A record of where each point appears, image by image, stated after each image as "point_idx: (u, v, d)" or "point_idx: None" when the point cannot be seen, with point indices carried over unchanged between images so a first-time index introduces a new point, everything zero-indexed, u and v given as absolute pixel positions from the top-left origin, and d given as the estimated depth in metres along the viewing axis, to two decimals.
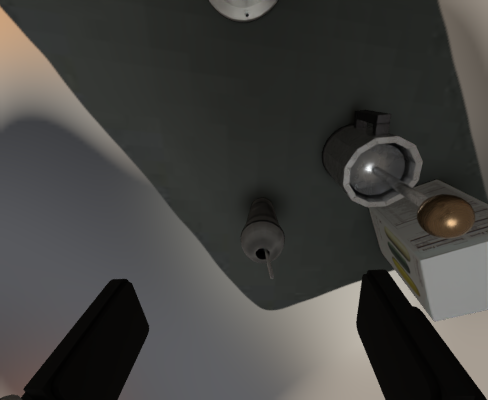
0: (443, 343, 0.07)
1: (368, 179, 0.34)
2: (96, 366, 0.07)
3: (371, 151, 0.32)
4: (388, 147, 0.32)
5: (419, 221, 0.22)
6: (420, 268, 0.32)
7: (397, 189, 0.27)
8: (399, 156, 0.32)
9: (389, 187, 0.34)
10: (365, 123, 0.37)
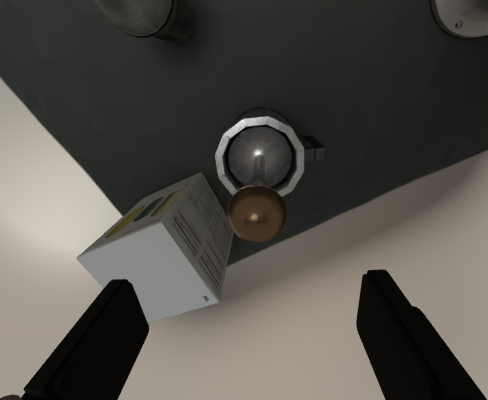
0: (443, 343, 0.07)
1: (248, 152, 0.28)
2: (96, 366, 0.07)
3: (283, 149, 0.27)
4: (286, 167, 0.28)
5: (246, 187, 0.15)
6: (148, 225, 0.26)
7: (257, 173, 0.22)
8: (275, 180, 0.29)
9: (239, 178, 0.29)
10: None
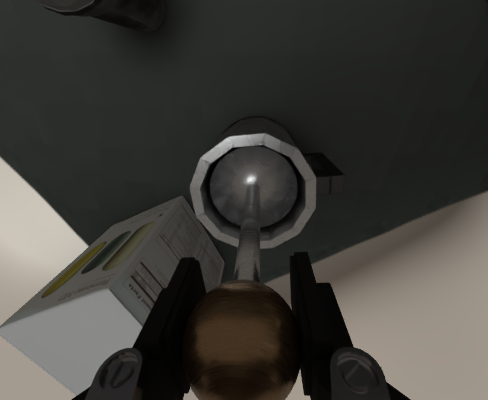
0: (338, 309, 0.08)
1: (237, 181, 0.20)
2: None
3: (286, 176, 0.20)
4: (290, 200, 0.20)
5: (220, 297, 0.07)
6: (91, 290, 0.18)
7: (247, 225, 0.14)
8: (275, 217, 0.21)
9: (225, 214, 0.22)
10: None
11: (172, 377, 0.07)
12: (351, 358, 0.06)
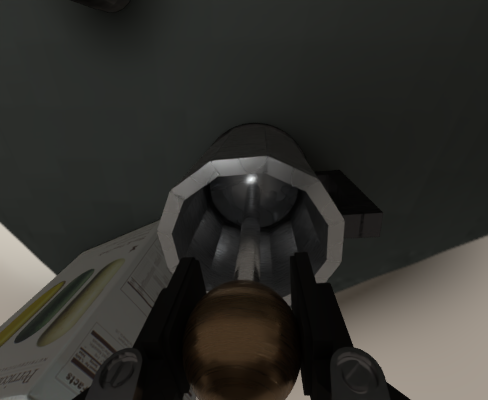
0: (338, 309, 0.08)
1: (237, 181, 0.20)
2: None
3: None
4: (290, 200, 0.20)
5: (220, 297, 0.07)
6: (5, 391, 0.12)
7: (247, 225, 0.14)
8: (276, 217, 0.21)
9: (225, 214, 0.22)
10: None
11: (172, 377, 0.07)
12: (351, 358, 0.06)
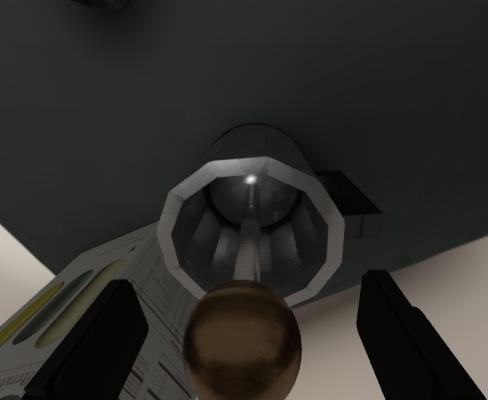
0: (443, 343, 0.07)
1: (237, 181, 0.20)
2: (96, 366, 0.07)
3: None
4: (290, 200, 0.20)
5: (220, 297, 0.07)
6: (2, 394, 0.12)
7: (247, 225, 0.14)
8: (275, 217, 0.21)
9: (225, 214, 0.22)
10: None
11: None
12: None
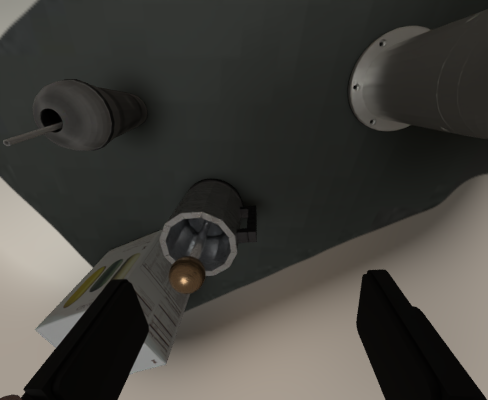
0: (443, 343, 0.07)
1: None
2: (96, 366, 0.07)
3: None
4: None
5: (179, 260, 0.25)
6: None
7: (199, 236, 0.32)
8: None
9: (195, 228, 0.39)
10: (244, 216, 0.38)
11: None
12: None
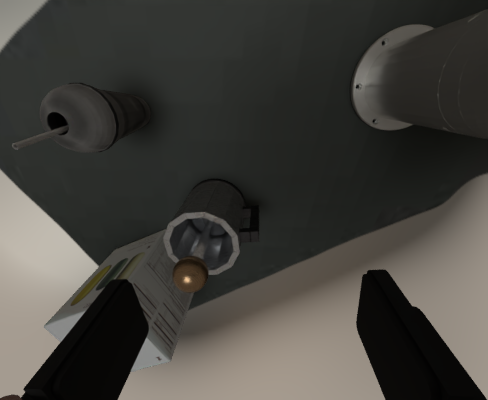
0: (443, 343, 0.07)
1: None
2: (96, 366, 0.07)
3: None
4: None
5: (183, 259, 0.26)
6: None
7: (202, 236, 0.32)
8: None
9: (199, 228, 0.40)
10: (247, 216, 0.38)
11: None
12: None
